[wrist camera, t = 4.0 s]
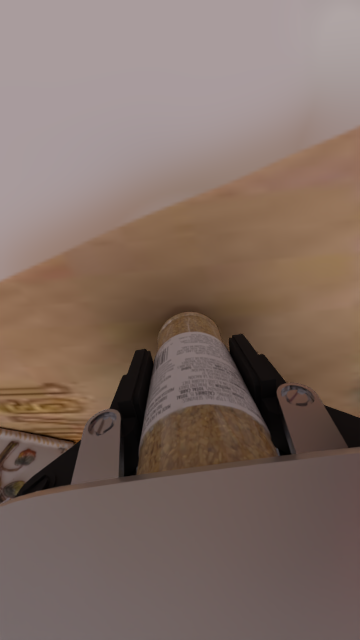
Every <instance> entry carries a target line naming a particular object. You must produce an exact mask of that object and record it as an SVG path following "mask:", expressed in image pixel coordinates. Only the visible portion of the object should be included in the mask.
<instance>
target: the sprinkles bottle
mask: <svg viewBox="0 0 360 640" xmlns="http://www.w3.org/2000/svg"><path fill="white" fill-rule="evenodd" d="M157 345H158V350H157V354H156V356H155V360H154V365H153V371H152V376H151V381H150V387H149V393H148V398H147V404H146V410H145V416H144V422H143V428H142V434H141V439H140V445H139V462H138V469H137V473H136V475H140V474H148V473H155V472H162V471H169V470H177V469H184V468H192V467H199V466H207V465H214V464H222V463H230V462H237V461H245V460H253V459H261V458H268V457H276V456H278V454H277V451H276V448H275V446H274V445H273V443H272V441H271V435H270V432H269V430H268V428H267V426H266V424H265V422H264V420H263V418H262V416H261V414H260V412H259V410H258V408H257V406H256V404H255V402H254V400H253V398H252V396H251V394H250V392H249V390H248V388H247V386H246V384H245V382H244V380H243V378H242V376H241V374H240V372H239V370H238V368H237V366H236V364H235V362H234V361H233V359H232V357H231V355H230V353H229V351H228V349H227V348H226V346H225V345H224V343H223V341H222V339H221V335H220V332H219V329H218V328H217V326H216V325H215V323H214V322H213V320H211V319H210V318H208V317H207V316H205V315H202V314H200V313H196V312H183V313H180V314H177V315H174V316H173V317H171V318H170V319H168V320H167V321H166V322H165V324H164V325H163V326H162V328H161V330H160V332H159V334H158V340H157Z"/></svg>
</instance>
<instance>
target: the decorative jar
mask: <svg viewBox="0 0 360 640" xmlns="http://www.w3.org/2000/svg"><path fill="white" fill-rule="evenodd" d="M72 446H74V443H73V442H69V441H65V440H58V439H54V438H50V437H45V436H39V435H34V434H29V433H25V432H20V431H13V430H7V429H2V428H0V503H2V502H3V501H5V500H6V499H8V498H9V497H10V498H11V499H14V498H15V496H16V495H17V493H18V492H19V490H20V489H21V487H22V486H23V485H24V484H25V483H26V482H27V481H28V480H29V479H30V478H31V477H33V476H34V475H35V474H36V473H38V472H39V471H40V470H42V469H43V468H44V467H46V466H47V465H48V464H50V463H51V462H52V461H54V460H55V459H56V458H58V457H59V456H60V455H62V454H63V453H64V452H66V451H67V450H68V449H70V448H71V447H72Z"/></svg>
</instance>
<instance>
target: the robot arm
mask: <svg viewBox="0 0 360 640" xmlns="http://www.w3.org/2000/svg"><path fill="white" fill-rule="evenodd" d="M229 348H230V355H231V357H232V359H233V361H234V362H235V364H236V366H237V368H238V370H239V372H240V374H241V376H242V378H243V380H244V382H245V384H246V386H247V388H248V390H249V392H250V394H251V396H252V398H253V400H254V402H255V404H256V406H257V408H258V410H259V412H260V414H261V416H262V418H263V420H264V422H265V424H266V426H267V428H268V430H269V432H270V435H271V441H272V443H273V445H274V446H275V447H276V451H277V454H278V456H276V457H268V458H261V459H253V460H245V461H237V462H230V463H222V464H214V465H207V466H199V467H192V468H184V469H177V470H169V471H162V472H155V473H148V474H140V475H136V473H137V469H138V462H139V445H140V439H141V434H142V428H143V422H144V416H145V410H146V404H147V398H148V393H149V387H150V381H151V376H152V371H153V365H154V364H153V360H152V356H151V352H150V351H147V350H146V349H142V350H136V351H135V354H134V357H133V360H132V362H131V365H130V368H129V371H128V373H127V375H123V377H122V379H121V381H120V384H119V386H118V389H117V391H116V394H115V396H114V399H113V401H112V404H111V407H110V409H107V410H103V411H101V412H99V413H97V414H95V415H94V416H93V417H92V418H91V419H89V421H88V422H87V424H86V425H85V428H84V431H83V435H82V440H80V441H79V442H78V443H76V444H75V445H74V446H72V447H71V448H70V449H68V450H67V451H66V452H64V453H63V454H62V455H60V456H59V457H58V458H56V459H55V460H54V461H52V462H51V463H50V464H48V465H47V466H46V467H44V468H43V469H42V470H40V471H39V472H38V473H36V474H35V475H34V476H33V477H31V478H30V479H29V480H28V481H27V482H26V483H25V484H24V485H23V486H22V487H21V489H20V490H19V492H18V493H17V495H16V496H15V498H14V499H11V498H10V497H9V498H8V499H6V500H5V501H3V502H2V503H0V640H360V418H358V417H356V416H353V415H350V414H347V413H345V412H342V411H339V410H336V409H333V408H331V407H328V406H325V405H323V403H322V401H321V400H320V398H319V396H318V395H317V394H316V392H315V391H313V390H312V389H311V388H309V387H307V386H305V385H302V384H298V383H286V382H285V380H284V379H283V378H282V377H281V375H280V374H279V373H278V372H277V370H276V369H275V368H274V367H273V365H272V364H271V363H270V362H269V360H268V359H267V358H266V357H265V355H263V354H260V355H258V354H257V352H256V351H255V350H254V348H253V347H252V346H251V344H250V343H249V342H248V340H247V339H246V338H245V336H244V335H243V334H238V335H232V338H229Z"/></svg>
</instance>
